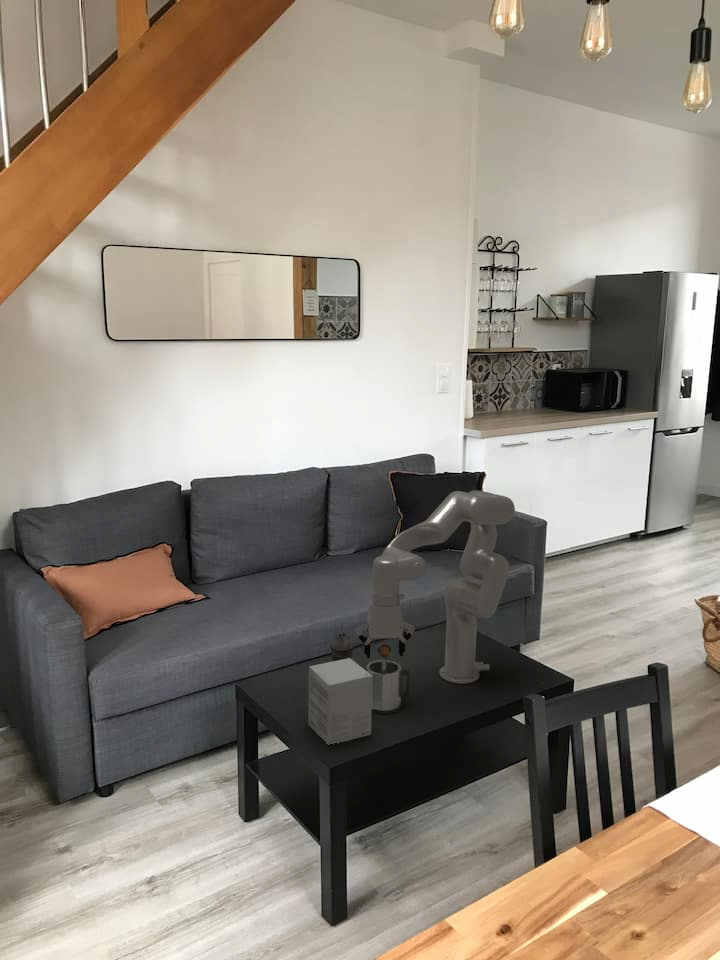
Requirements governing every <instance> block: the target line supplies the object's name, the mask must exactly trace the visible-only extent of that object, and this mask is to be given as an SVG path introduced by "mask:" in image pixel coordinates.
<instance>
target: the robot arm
mask: <svg viewBox="0 0 720 960" xmlns="http://www.w3.org/2000/svg"><path fill="white" fill-rule="evenodd" d="M515 509H516V507H515V503H514V501H513V500H512V499H511V498H510V497H507V496H506V495H505V496H504V495H500V494H495V493H492V492H488V491H483V490H471V491H469V492H466V491H460V490H455V491H452V492H450V493H449V494H448V495H447V496H446V497H445V498H444V500H443V501H442V502H440V504H439V505H438V506H437V507H436V509H435V510H433V512H432V513H431V514H430V515H429V516H428V518H427V519H426V520H424V521H422V522H420V523H417V524H416V525H414V526H412V527H409V528H407V529H405V530H404V531H401V532H400V533H399V534H397V535H396V536H395V537H394V538H393V539H392V540H391V541H390V543H389V544H388V545H387V546H386V547H385V549H383V551H382V554H381V555H379V556H376V557H375V558H374V559H373V564H372V601H370V602H369V604H368V608H367V609H368V610H367V618H366V623H363V624H362V625H360V626H358V627H355V629H354V631H355V633H356V634H355V635H356V636H357V637H358V639H359V640H360V642H361V643H363V653H364V655H366V657H367V659H371V644H370V643H371V642H372V640H373V639H374V640H377V639H378V640H380V639H396V638H398V639H399V640H398V654H399V656H400V657H404V653H405V652H406V643H407V641H408V640H410V638H411V637H412V634H414V631H415V626H414V625H411V624H410V623H407V622H406V621H404V617H403V609H402V604H401V602H400V601H401V600H404V599H405V596H404V594H401V593H400V582H403V581H404V582H406V581H416V580H418V579H420V578H421V577H422V576H423V575H424V574H425V572H426V569H427V563H426V561H425V559H424V558H423V557H422V556H420V555H418V554H415V553H413V552H412V551H413V550H414V549H417V548H419V547H423V546H429V545H430V546H431V545H436V544H437V545H438V544H442V543H445V542H446V541H448V539H449V538H450V537H451V536H452V534H453V533H454V532H455V531H456V530H457V529H458V528H459V526H461V524H462V523H463V522H467V523H470V533H469V535H468V539H467V542H466V545H465V548H464V551H463V553H462V555H461V556H462V557H461V559H460V563H459V569H460V571H461V573H462V574H463V575H465V576H467V577H469V578H472V579H473V580H474V579H475V580H477V581H481V584H477V583H475V582H472V581H469V580H466V579H461V578H456V579H452V580H450V581H449V582H448V583H447V585H446V587H445V589H444V604H445V610H446V626H445V627H446V629H445V648H444V649H445V650H444V651H445V653H444V665H443V666H442V667H441V668H439V676H440V677H441V678H442V679H443V680H445V681H446V682H450V683H453V684H465V685H466V684H470V683H474V682H476V681H477V680H479V678H480V672H481V671H490V670H491V669H490V664H489V663H487V664H486V663H485V664H484V661H478V662H477V661H476V650H477V649H476V648H477V630H478V628H477V627H478V623H477V618H479V619H483V620H486V619H489V618H492V616H493V615H494V614H495V613H496V610H497V608H498V607H499V604H500V601H501V598H502V595H503V592H504V589H505V587H506V583H507V581H508V577H509V573H510V565H509V562H508V559H507V558H506V557H504V556H503V555H502V554H500V553H496V552H494V551H495V546H496V542H497V540H498V531H497V527H496V525H505V524H507V523H509V522H510V521H511V520H512V518H513V517H514V515H515ZM404 629H406V630H407V631H406V632H405V633H404ZM365 630H366V633H367V634H366V635H365V636H364V635H363V634H362V632H363V631H365Z"/></svg>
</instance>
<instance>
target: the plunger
mask: <svg viewBox="0 0 720 960" xmlns="http://www.w3.org/2000/svg"><path fill="white" fill-rule="evenodd" d="M376 652H377V655H379V657H381V660H382V674H386V660H387V657H389V656H390V655H391V653H392V647H391V645H390V644H388V643H385V642H383V643H380V644H379V645H378V647H377V651H376Z"/></svg>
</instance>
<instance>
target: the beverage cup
mask: <svg viewBox="0 0 720 960" xmlns="http://www.w3.org/2000/svg"><path fill="white" fill-rule="evenodd" d="M343 622H344V621H343ZM343 622H340V629H341V630H340V633H338V634H337V635H335V636H334V637H333V639H332V640H331V643H330V653H331V657H332V658H331V659H332V662H333V661H338V660H343V659H347V658H351V659H352V657H353V654H354V647H355V645H354V641H353V640H352V637H350V636H349V635H348V634H346V633H344V623H343Z"/></svg>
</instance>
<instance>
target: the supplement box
mask: <svg viewBox="0 0 720 960" xmlns="http://www.w3.org/2000/svg"><path fill="white" fill-rule="evenodd" d="M371 708H372V675H370V674H369V673H368V672H367V671H366V669H365V668H363V667H362V666H360V665H359V663H357V662H356V661H354V660H353V659H352V658H347V659H343V660H338V661H333V660H332V661H329V662H325V663H324V662H323V663H319V664H315V665H309V666H308V714H307V715H308V723H307V724H308V726H309V727H310V728H311V729H312V730H313V731H314V732H315V733H316V735H317V736H318V737H321V738H322V739H323V740H324V741H325V742H326V743H325V742H324V741H323V740H322V739H321V738H320V739H321V740H322V741H323V742H324V743H325V744H326V745H327V744H328V745H330V744H333V745H335V744H334V743H337V744H341V743H345V742H349V741H352V740H355V739H359V738H363V737H367V736H371V734H372V712H371ZM340 742H341V743H340ZM328 745H327V746H328ZM330 746H331V745H330Z"/></svg>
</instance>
